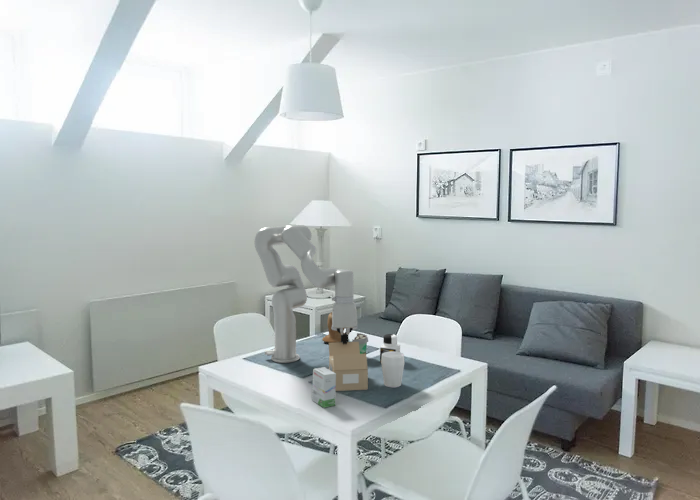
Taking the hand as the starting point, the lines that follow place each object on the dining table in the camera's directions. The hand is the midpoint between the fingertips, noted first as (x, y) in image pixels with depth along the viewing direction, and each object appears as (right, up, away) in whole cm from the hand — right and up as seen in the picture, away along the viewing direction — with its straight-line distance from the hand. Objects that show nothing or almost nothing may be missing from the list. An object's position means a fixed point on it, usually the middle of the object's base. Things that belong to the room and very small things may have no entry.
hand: (344, 343), depth 223 cm
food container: (+7, -10, +20) cm, 24 cm away
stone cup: (-5, -8, +49) cm, 50 cm away
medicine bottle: (+20, -11, +16) cm, 28 cm away
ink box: (-7, -16, -32) cm, 36 cm away
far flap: (0, -2, 0) cm, 2 cm away
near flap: (+2, -4, -19) cm, 20 cm away
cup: (+19, -14, -13) cm, 27 cm away
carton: (+1, -13, -10) cm, 17 cm away
